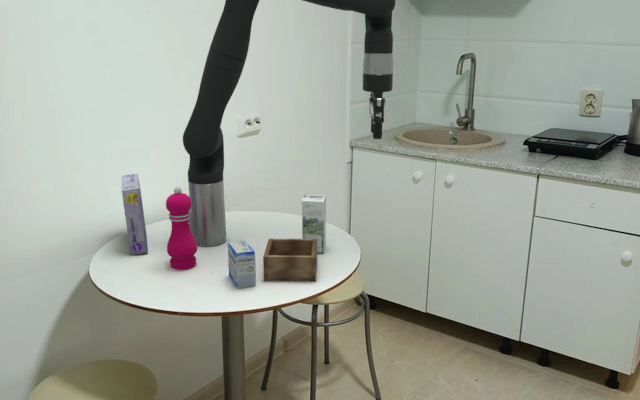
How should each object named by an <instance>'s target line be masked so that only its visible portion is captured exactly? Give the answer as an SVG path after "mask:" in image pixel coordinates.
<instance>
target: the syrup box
mask: <svg viewBox="0 0 640 400" xmlns="http://www.w3.org/2000/svg"><path fill="white" fill-rule="evenodd" d="M326 196H327V195H325V194H304V195H303V198H302V200H301V215H302V216H301V222H302V224H301V225H302V226H301V227H302V228H301V230H302V232H301V233H302V237H301V239H317V254H324V253H325V250H326V247H327V246H326V245H327V242H326V241H327V237H326V232H327V231H326V225H327V224H326V221H327V220H326V219H327V218H326V217H327V215H326V214H327V213H326V212H327V197H326Z"/></svg>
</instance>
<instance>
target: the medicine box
mask: <svg viewBox="0 0 640 400" xmlns="http://www.w3.org/2000/svg"><path fill="white" fill-rule="evenodd" d="M227 257H228V258H227V259H228V260H227V261H228V262H227V263H228V276H229V278H230V279H231V281H232V282H233V284H234V285H235V286H236V288H237V289H245V288H251V287H255V286H257V274H256V273H257V272H256V271H257V270H256V252H255V250H254V249H253V248H252V246H251V245H250V244H249V243H248V242H247V241H246V240H243V239H242V240H234V241H233V240H232V241H230V242H227Z"/></svg>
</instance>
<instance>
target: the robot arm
mask: <svg viewBox="0 0 640 400" xmlns="http://www.w3.org/2000/svg"><path fill="white" fill-rule="evenodd" d="M301 1H302V2H306V3H310V4H314V5H317V6H321V7H326V8H331V9H334V10H341V11H344V12H345V11H346V12H350V11H351V12H355V13H359V14H363V15H364V23H365V24H364V25H365V27H364V28H365V32H364V33H365V34H364V45H363V46H364V49H363V51H364V52H363V53H364V55H363V61H362V62H363V63H362V90H363V91H364V92H368V93H369V95H370V97H369V98H368V107H369V109H368V110H369V114H370V115H369V117H370V132H371V133H372V138H373V139H374V140H381V139H383V124H384V122H385V118H384V116H385V113H386V111H385V110H386V108H385V107H386V99H385V97H383V94H384V93H389V92H392V90H393V86H394V85H393V84H394V83H393V82H394V81H393V80H394V79H393V78H394V76H393V75H394V58H393V57H394V56H393V55H394V54H393V47H394V46H393V45H394V36H393V31H392V23H393V11H394V9H395V6H396V0H301ZM259 3H260V0H225V2H224V6H223V10H222V11H221V12H222V13H221V15H220V17H219V18H220V19H218V23H217V26H216V29H215V32H214V34H213V38H212V41H211V43H210V46H209V50H208V53H207V57H206V58H205V59H206V60H205V64H204V68H203V72H202V76H201V78H200V84H199V90H198V94H197V99H196V100H195V101H196V102H195V105H194V107H193V109H192V112H191V115H190V117H189V120H188V123H187V125H186V127H185V129H184V131H183V134H182V145H183V147H184V150H185V151H186V153H187V154H188V155H189V165H188V169H187V181H188V182H187V183H188V194H189V195H188V196H189V197H190V199H191V202H192V206H191V208H190V210H189V212H190V219H189V228H190V231H191V233H192V235H193V237H194V239H195V241H196V244H197V247H215V246H219V245H222V244H224V243H226V241H227V226H226V225H227V224H226V208H225V207H226V206H225V202H226V201H225V189H224V187H225V185H224V183H225V182H224V168H225V145H224V133H223V130H222V127H221V125H222V122H223V121H222V120H223V117H224V114H225V111H226V108H227V106H228V104H229V102H230V100H231V99H232V96H233V94H234V92H235V90H236V88H237V86H238V84H239V80H240V78H241V76H242V73H243V70H244V67H245V64H246V60H247V58H248V52H249V46H250V40H251V33H252V25H253V19H254V16H255V13H256V10H257V8H258V6H259Z"/></svg>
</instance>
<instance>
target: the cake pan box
mask: <svg viewBox="0 0 640 400" xmlns="http://www.w3.org/2000/svg"><path fill="white" fill-rule="evenodd" d="M121 194H122V203H123V209H124V216H125V217H124V218H125V222H126V223H125V225H126V230H127V236H128V245H129V250H130V255H143V254H144V255H145V254H148V253H149V247H148V246H149V245H148V236H147V228H146V220H145V214H144V212H145V211H144V207H143V205H144V204H143V197H142V191H141V184H140V180H139V174H138V173H131V174H126V175H122V176H121Z"/></svg>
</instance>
